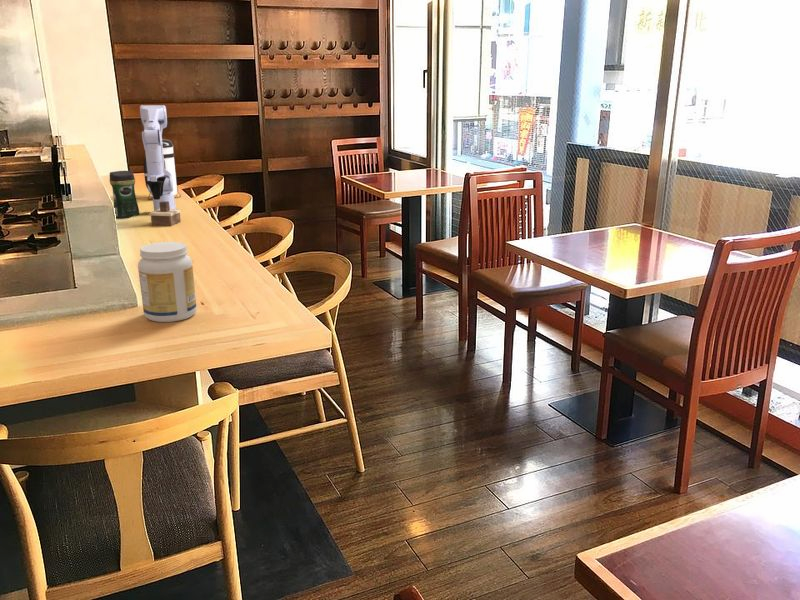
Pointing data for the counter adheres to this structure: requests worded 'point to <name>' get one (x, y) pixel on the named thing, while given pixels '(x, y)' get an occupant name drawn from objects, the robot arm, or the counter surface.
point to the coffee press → (166, 164)
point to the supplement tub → (166, 282)
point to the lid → (164, 210)
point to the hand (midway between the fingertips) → (158, 197)
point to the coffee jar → (124, 194)
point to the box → (165, 220)
